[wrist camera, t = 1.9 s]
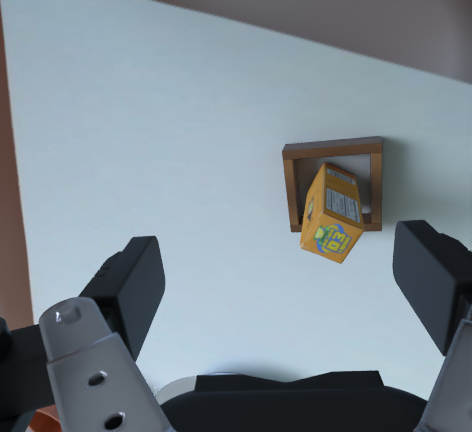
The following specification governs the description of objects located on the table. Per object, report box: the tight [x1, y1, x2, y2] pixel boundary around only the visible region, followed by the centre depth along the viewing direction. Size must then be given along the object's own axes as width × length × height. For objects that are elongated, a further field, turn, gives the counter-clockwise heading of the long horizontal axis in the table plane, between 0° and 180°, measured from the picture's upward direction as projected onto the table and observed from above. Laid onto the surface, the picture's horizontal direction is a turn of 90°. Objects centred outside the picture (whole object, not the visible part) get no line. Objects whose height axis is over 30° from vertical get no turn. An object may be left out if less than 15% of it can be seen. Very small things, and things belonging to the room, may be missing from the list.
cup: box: [28, 404, 62, 432], centre depth 53 cm, size 8×8×9 cm
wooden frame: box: [282, 136, 382, 232], centre depth 31 cm, size 8×8×2 cm
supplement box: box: [300, 162, 364, 264], centre depth 28 cm, size 3×3×10 cm
